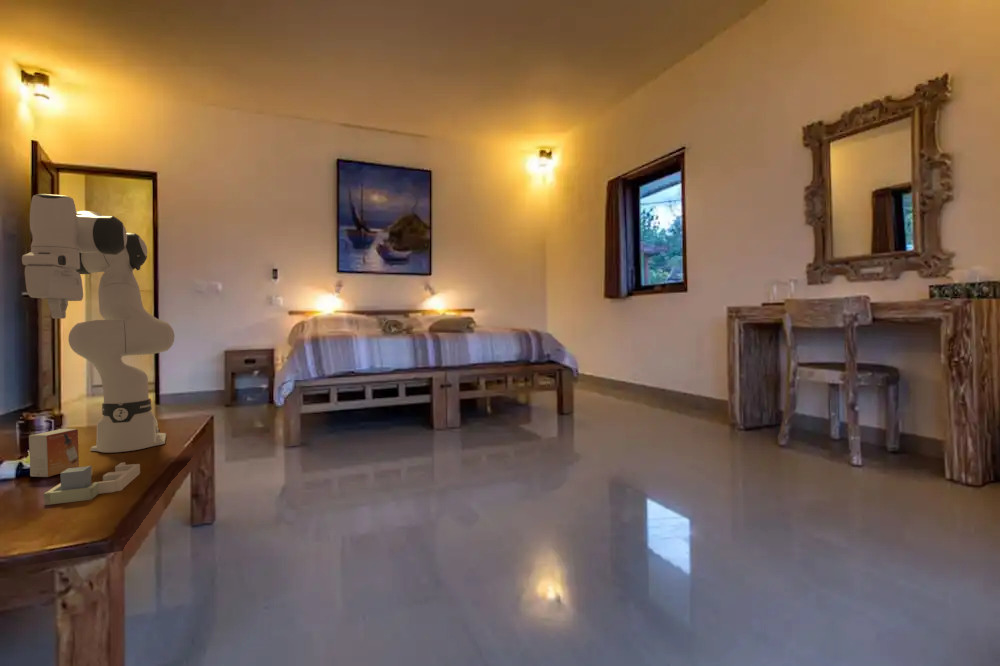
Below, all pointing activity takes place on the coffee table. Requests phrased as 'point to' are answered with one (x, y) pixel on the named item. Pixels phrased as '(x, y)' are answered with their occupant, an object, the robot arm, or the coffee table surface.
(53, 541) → the coffee table surface
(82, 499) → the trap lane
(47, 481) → the coffee table surface
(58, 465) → the small box
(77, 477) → the slate block
